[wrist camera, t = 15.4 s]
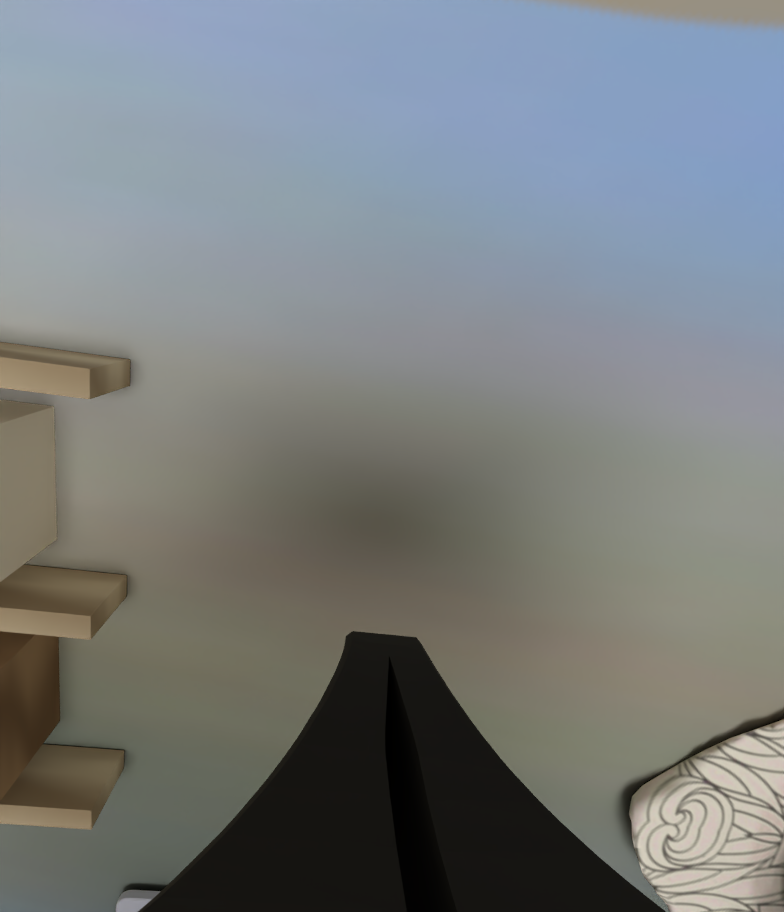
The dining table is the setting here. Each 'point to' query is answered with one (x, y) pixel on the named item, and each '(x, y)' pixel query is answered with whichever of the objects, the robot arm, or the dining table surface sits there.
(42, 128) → the dining table surface
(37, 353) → the lane rack
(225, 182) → the dining table surface
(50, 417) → the cream block
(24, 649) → the walnut block
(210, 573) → the dining table surface
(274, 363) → the dining table surface
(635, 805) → the cookie jar
